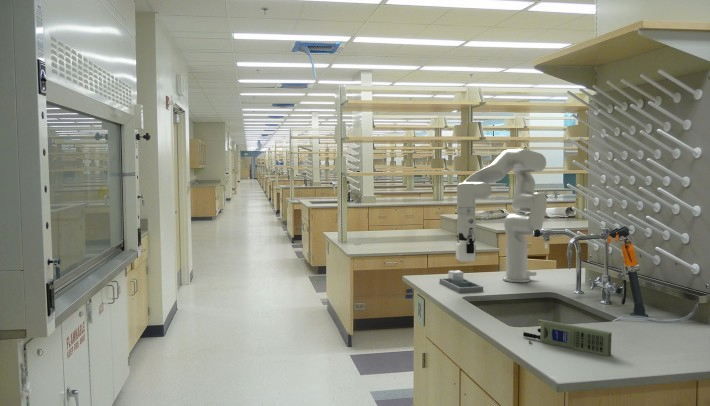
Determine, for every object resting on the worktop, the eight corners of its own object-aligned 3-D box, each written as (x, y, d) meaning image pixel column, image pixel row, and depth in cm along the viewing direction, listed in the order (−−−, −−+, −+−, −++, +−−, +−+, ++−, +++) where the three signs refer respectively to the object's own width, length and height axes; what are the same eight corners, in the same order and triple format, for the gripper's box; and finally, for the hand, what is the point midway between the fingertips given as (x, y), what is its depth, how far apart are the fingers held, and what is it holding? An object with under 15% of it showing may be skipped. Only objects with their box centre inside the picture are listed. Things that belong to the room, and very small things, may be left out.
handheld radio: (608, 357, 143) (521, 339, 160) (611, 355, 146) (525, 337, 162) (609, 333, 143) (521, 317, 160) (612, 331, 146) (526, 315, 162)
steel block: (458, 283, 239) (458, 270, 238) (463, 285, 234) (463, 272, 234) (448, 283, 238) (448, 270, 237) (452, 286, 233) (453, 272, 232)
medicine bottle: (475, 261, 222) (475, 233, 221) (459, 261, 222) (459, 233, 221) (471, 258, 229) (472, 231, 228) (455, 258, 229) (455, 231, 228)
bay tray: (461, 282, 242) (461, 277, 242) (483, 292, 222) (483, 286, 222) (439, 284, 240) (439, 278, 240) (459, 294, 219) (459, 288, 219)
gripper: (483, 212, 217) (483, 254, 218) (464, 210, 234) (464, 248, 234) (466, 212, 215) (466, 255, 216) (449, 210, 232) (449, 249, 233)
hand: (465, 251), depth 225 cm, fingers closed on medicine bottle, 8 cm apart
